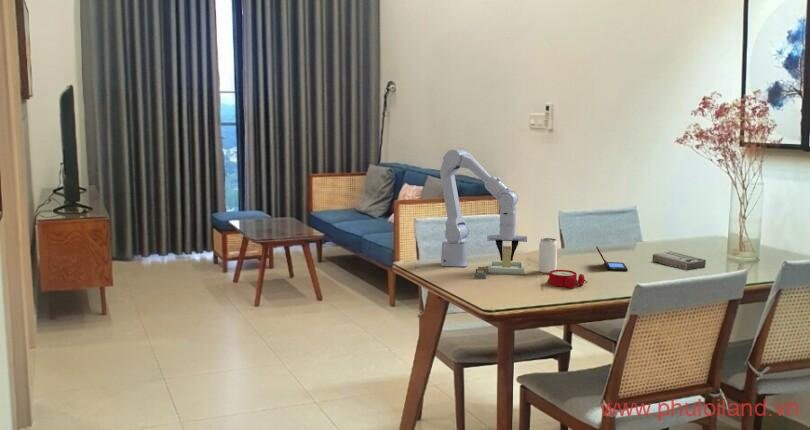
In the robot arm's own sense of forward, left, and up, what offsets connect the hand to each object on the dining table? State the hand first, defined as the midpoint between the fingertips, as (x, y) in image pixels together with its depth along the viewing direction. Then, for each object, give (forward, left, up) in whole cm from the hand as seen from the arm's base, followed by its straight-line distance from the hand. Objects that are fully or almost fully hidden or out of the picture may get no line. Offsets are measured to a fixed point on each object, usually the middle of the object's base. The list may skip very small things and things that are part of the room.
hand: (506, 260), depth 288 cm
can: (+15, 0, -4) cm, 16 cm away
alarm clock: (+21, -19, -4) cm, 28 cm away
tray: (0, 0, -4) cm, 4 cm away
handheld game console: (+39, +12, -4) cm, 41 cm away
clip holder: (-9, -11, -4) cm, 14 cm away
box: (+66, +22, -4) cm, 69 cm away
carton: (0, 0, -2) cm, 2 cm away
